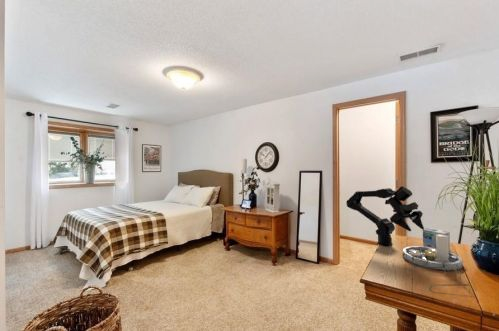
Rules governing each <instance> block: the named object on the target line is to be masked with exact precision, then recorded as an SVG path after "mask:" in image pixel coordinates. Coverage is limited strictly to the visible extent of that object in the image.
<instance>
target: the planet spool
mask: <svg viewBox="0 0 499 331" xmlns="http://www.w3.org/2000/svg"><path fill="white" fill-rule="evenodd" d="M436 257H437V258H436V259H435V262H440V263H450V261H449V254H448V236H446V235H440V234H438V235H436Z"/></svg>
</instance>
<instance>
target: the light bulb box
mask: <svg viewBox="0 0 499 331" xmlns="http://www.w3.org/2000/svg"><path fill="white" fill-rule="evenodd" d="M450 233H451V232H450V231H448V230H447V231H446V230H442V229H437V228H433V227H427V228H426V227H425V228H424V229H423V230H422V246H424V247H433V248H436V235H438V234H440V235H446V236H448V251H449V252H451V235H450Z"/></svg>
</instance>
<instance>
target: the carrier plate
mask: <svg viewBox="0 0 499 331" xmlns="http://www.w3.org/2000/svg"><path fill="white" fill-rule="evenodd" d="M448 254H449V261H450V263H440V262H435V259H436V258H437V257H436V248H433V247H424V246H423V245H411V246H406V247H403V249H402V259H403V260H404V261H406V262H408V263H410V264H412V265H414V266H417V267H420V266H421V267H444V265H445V267H444V268H427V269H429V270H434V271H442V272H455V271H456V272H458V271H460V270H462V269H463V267H464V266H463V259H462V257H460V256H459V255H458V254H456V253H453V252H451V251H448ZM448 265H449V266H448ZM450 266H451V267H452V268H451V267H450ZM453 268H454V269H456V270H454V269H453ZM444 269H445V271H444Z"/></svg>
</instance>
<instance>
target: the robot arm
mask: <svg viewBox="0 0 499 331" xmlns="http://www.w3.org/2000/svg"><path fill="white" fill-rule="evenodd" d="M412 196H413V192H412V191H411V190H410V189H408V188H407V187H404V185H401V186H400V187H399V188H398V189H396V190H393V189H392V188H390V187H385V188H379V189H376V190H358V191H355V192H354V193H353V195H351V196H350V197H349V199H347V200H346V207H348V209H351V210H354V211H357V212H358V213H360V214H361V215H363V217H365V218H367V219H368V220H369V221H370V222H372V223H374V224H375V226H376V227H377V229H376V230H375V234H376V235H377V242H376V244H377V245H380V246H384V247H390V246H392V245H393V243H392V242H393V241H392V238H393V237H392V234H393V232H394V231H395V230H396V227H395V225H397V226H399V227H401V228H402V229H405V230H406V231H408V232H411V231H412V228H411V227H410V226H409V224H408V223H407V221H406V219H410V220H411V222H412V223H413V224H414V225H416V226H417V227H418V228H420V229H421V230H422V231H423V229H425V227H424V224H423V222H422V217H423V214H424V213H423V212H422V211H421V210H418V208H419V204H418V203H417V202H415V201H414V202H411V203H409V204H406V203H405V204H404V203H403V202H406V201H407V199H409V198H411V197H412ZM368 197H370V198H373V197H376V198H379V199H380V198H381V199H385V202H384V204H385V205H390V206H391V208H392V209H393V210H392V212H393V214H392V215H391V216H390V217H389V219H388V218H387V217H385V218H381V217H379V216H378V215H376V214H375V213H374V212H372V211H371V210H369V208H368V209H367V208H366V207H365V206H363V204H362V199H363V198H368ZM387 198H388V199H387Z"/></svg>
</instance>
